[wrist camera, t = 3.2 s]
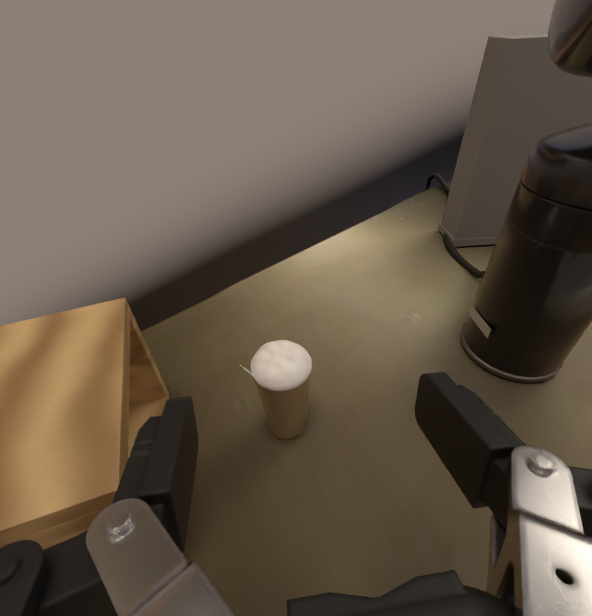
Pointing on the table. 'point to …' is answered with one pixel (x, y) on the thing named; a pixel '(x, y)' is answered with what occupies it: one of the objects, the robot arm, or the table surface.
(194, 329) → the table surface
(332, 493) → the table surface
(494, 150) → the cassette tape recorder
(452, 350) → the table surface
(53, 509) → the block
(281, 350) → the milkshake
